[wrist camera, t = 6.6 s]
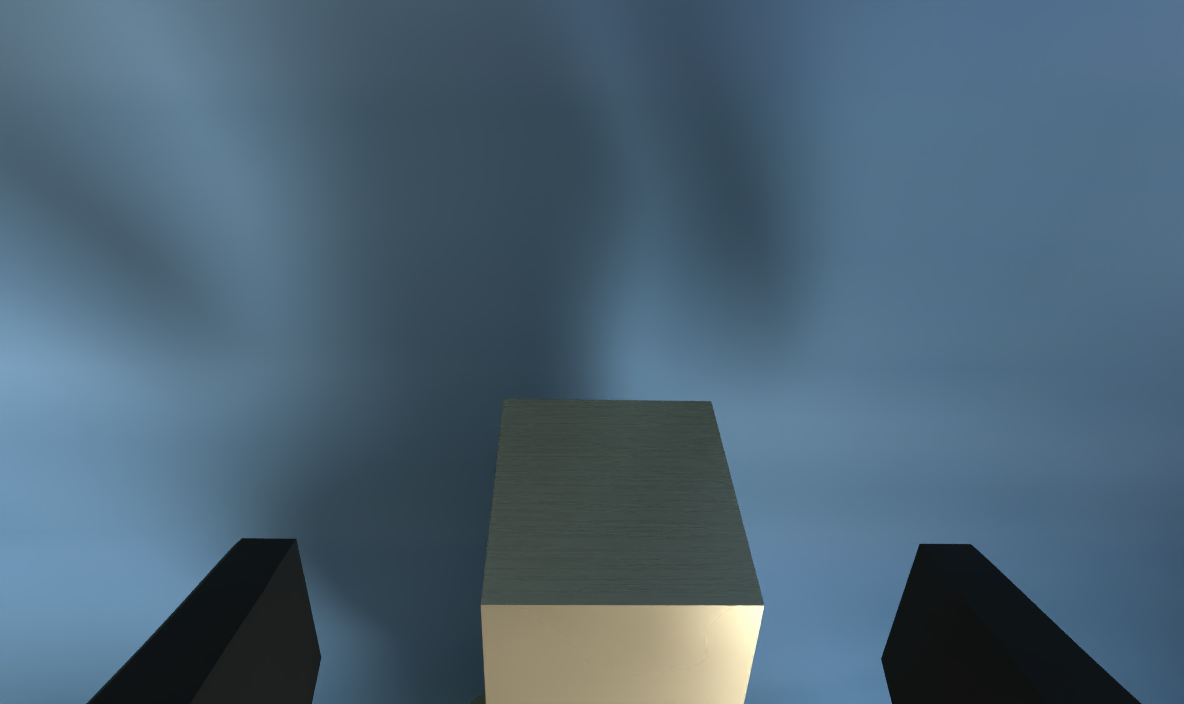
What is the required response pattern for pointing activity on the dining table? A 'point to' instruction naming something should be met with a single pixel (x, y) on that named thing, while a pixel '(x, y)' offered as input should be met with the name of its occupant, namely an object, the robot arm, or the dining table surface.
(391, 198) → the dining table surface
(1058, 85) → the dining table surface
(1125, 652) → the dining table surface
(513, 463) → the gold trophy
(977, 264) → the dining table surface
